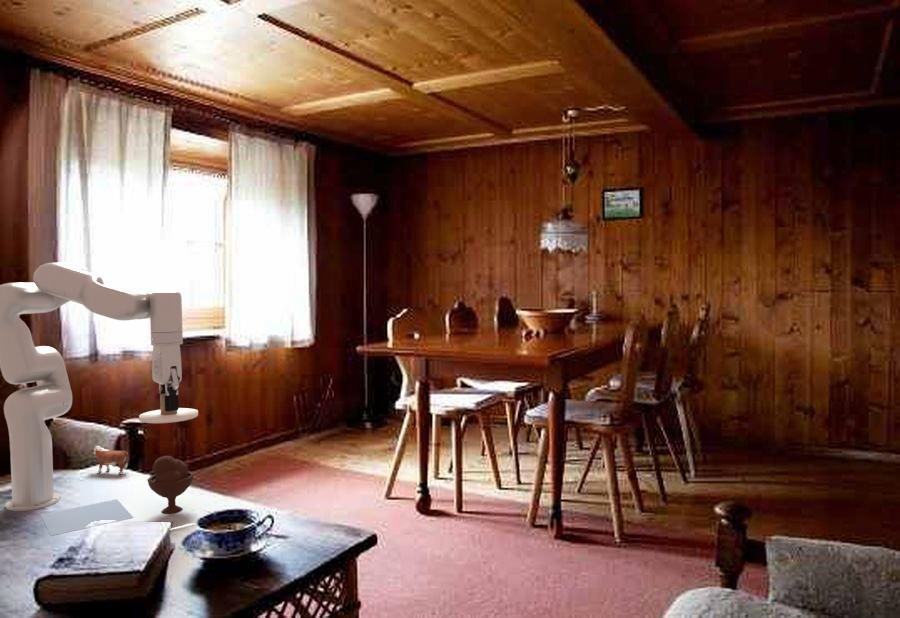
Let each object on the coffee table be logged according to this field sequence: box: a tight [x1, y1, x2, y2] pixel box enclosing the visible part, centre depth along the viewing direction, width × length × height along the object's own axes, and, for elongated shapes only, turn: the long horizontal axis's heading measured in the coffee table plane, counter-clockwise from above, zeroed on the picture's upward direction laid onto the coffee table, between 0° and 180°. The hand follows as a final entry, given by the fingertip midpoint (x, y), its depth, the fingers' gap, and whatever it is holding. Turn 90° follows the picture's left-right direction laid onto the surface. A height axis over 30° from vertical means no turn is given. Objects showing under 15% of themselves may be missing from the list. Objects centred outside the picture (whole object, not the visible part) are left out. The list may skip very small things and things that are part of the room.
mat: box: [39, 498, 134, 537], centre depth 166 cm, size 18×18×1 cm
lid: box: [138, 393, 199, 424], centre depth 168 cm, size 14×14×6 cm
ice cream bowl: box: [147, 455, 195, 515], centre depth 169 cm, size 11×11×15 cm
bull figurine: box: [90, 445, 129, 475], centre depth 205 cm, size 4×13×8 cm, turn 73°
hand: (169, 408), depth 168 cm, fingers closed on lid, 4 cm apart
